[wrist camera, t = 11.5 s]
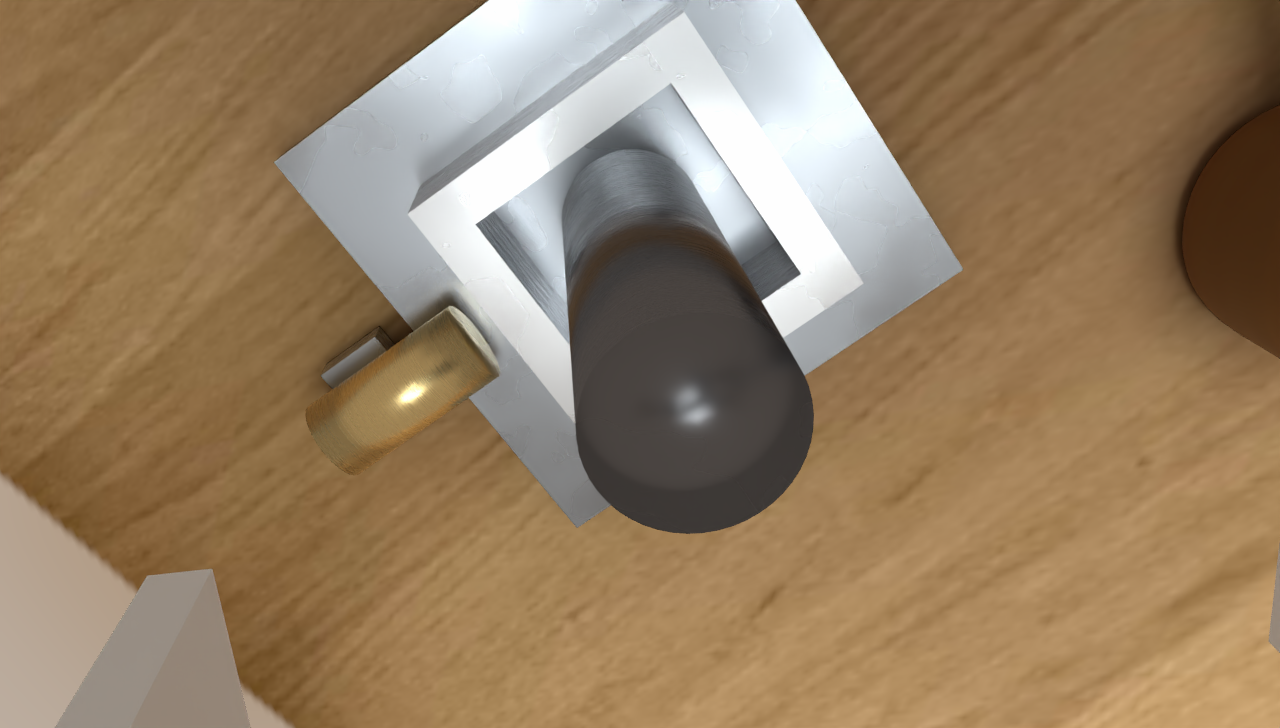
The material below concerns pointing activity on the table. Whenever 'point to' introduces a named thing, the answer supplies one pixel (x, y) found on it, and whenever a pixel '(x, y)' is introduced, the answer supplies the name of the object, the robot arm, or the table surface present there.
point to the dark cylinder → (673, 354)
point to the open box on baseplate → (539, 181)
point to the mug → (1239, 232)
